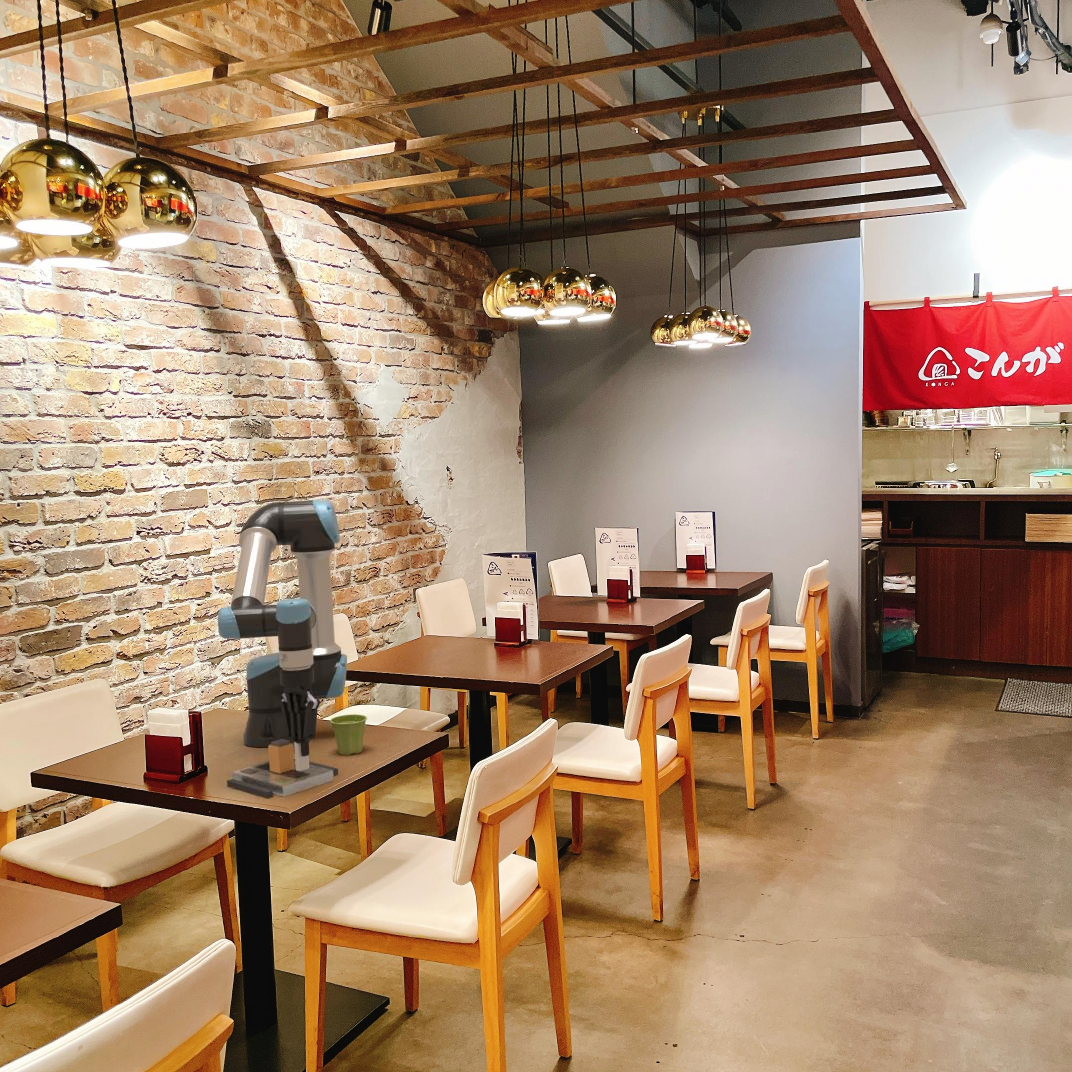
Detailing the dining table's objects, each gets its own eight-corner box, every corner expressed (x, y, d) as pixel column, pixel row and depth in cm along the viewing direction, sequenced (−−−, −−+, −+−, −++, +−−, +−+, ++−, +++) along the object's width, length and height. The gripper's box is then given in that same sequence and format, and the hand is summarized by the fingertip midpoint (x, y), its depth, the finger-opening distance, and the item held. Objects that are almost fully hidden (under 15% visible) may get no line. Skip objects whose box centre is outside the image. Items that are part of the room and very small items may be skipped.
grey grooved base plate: (224, 785, 233) (224, 779, 233) (297, 763, 249) (297, 758, 249) (267, 798, 222) (267, 792, 222) (340, 774, 238) (340, 769, 238)
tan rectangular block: (269, 770, 234) (268, 742, 234) (284, 766, 237) (282, 738, 237) (280, 773, 232) (278, 744, 231) (294, 769, 235) (292, 740, 234)
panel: (232, 781, 236) (231, 771, 236) (282, 766, 246) (281, 756, 246) (283, 796, 223) (282, 785, 223) (333, 780, 233) (333, 769, 233)
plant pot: (374, 747, 261) (373, 714, 260) (359, 757, 252) (357, 723, 251) (342, 746, 263) (340, 713, 263) (325, 756, 254) (323, 722, 254)
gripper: (265, 667, 229) (271, 768, 231) (300, 672, 221) (306, 778, 222) (292, 661, 235) (298, 761, 236) (327, 666, 226) (333, 769, 228)
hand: (302, 769), depth 229 cm, fingers closed
